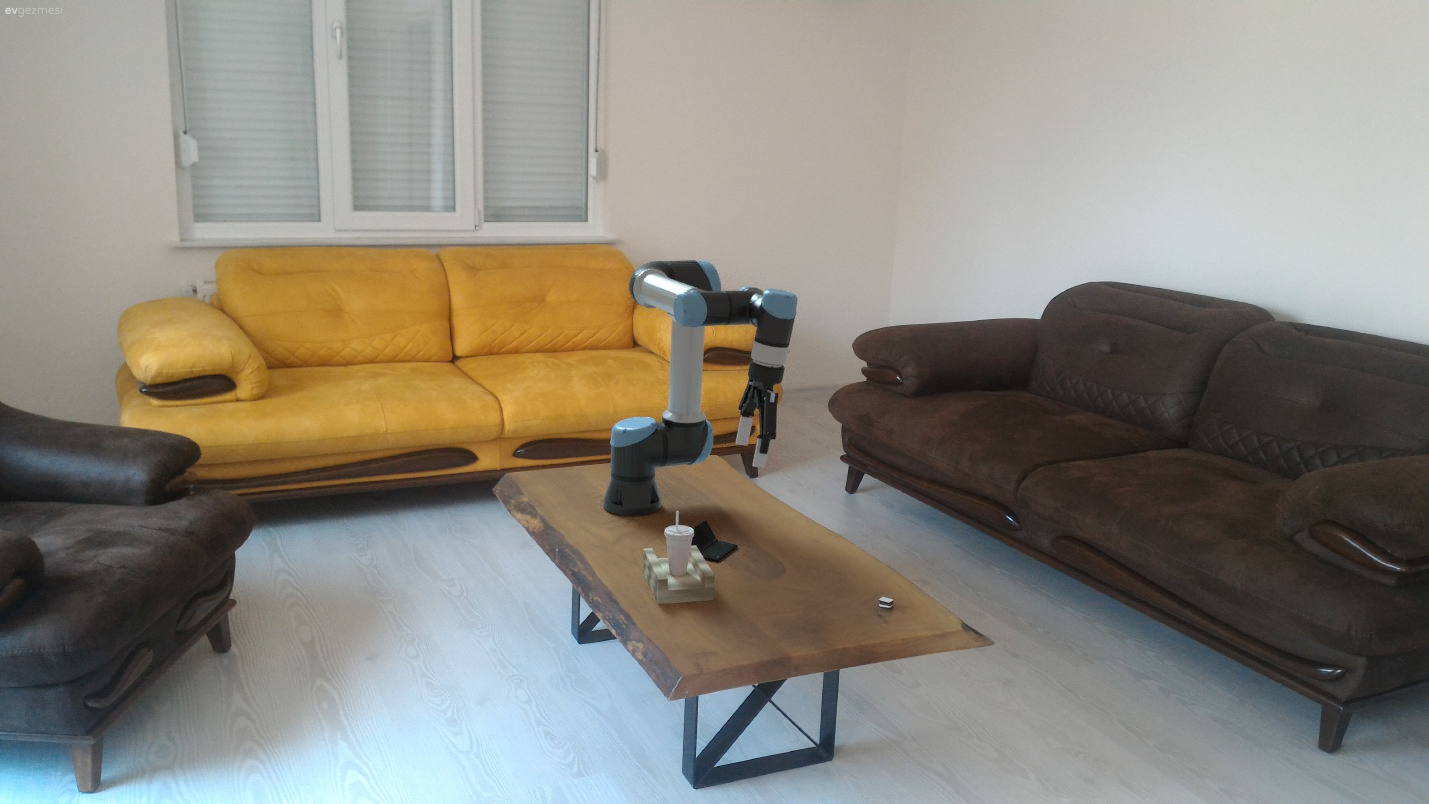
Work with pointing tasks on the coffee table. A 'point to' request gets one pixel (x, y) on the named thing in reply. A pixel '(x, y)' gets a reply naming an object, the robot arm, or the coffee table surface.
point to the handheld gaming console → (710, 543)
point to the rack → (679, 578)
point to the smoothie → (678, 547)
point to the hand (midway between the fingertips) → (749, 455)
